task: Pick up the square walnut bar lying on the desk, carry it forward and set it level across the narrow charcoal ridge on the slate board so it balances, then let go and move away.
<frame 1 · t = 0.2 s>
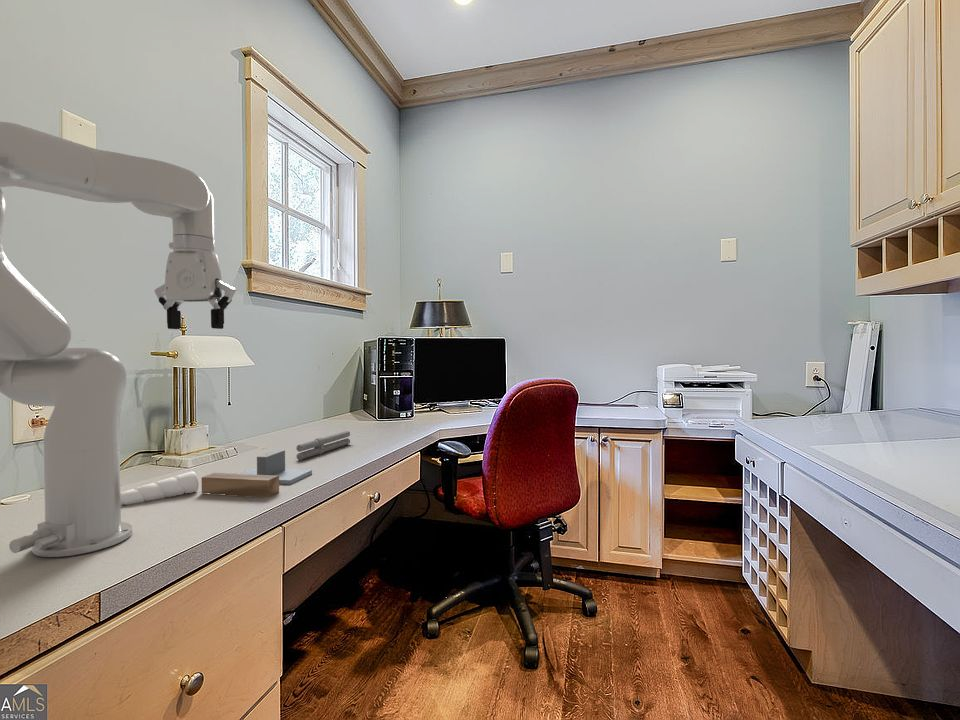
hand: (195, 328, 102), 36 cm above the table, tool pointing down, fingers open, 9 cm apart
metal rod assembly: (325, 453, 150), on the table
walnut bar: (240, 494, 106), on the table
unicorn horn: (137, 504, 100), on the table
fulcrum: (271, 477, 119), on the table
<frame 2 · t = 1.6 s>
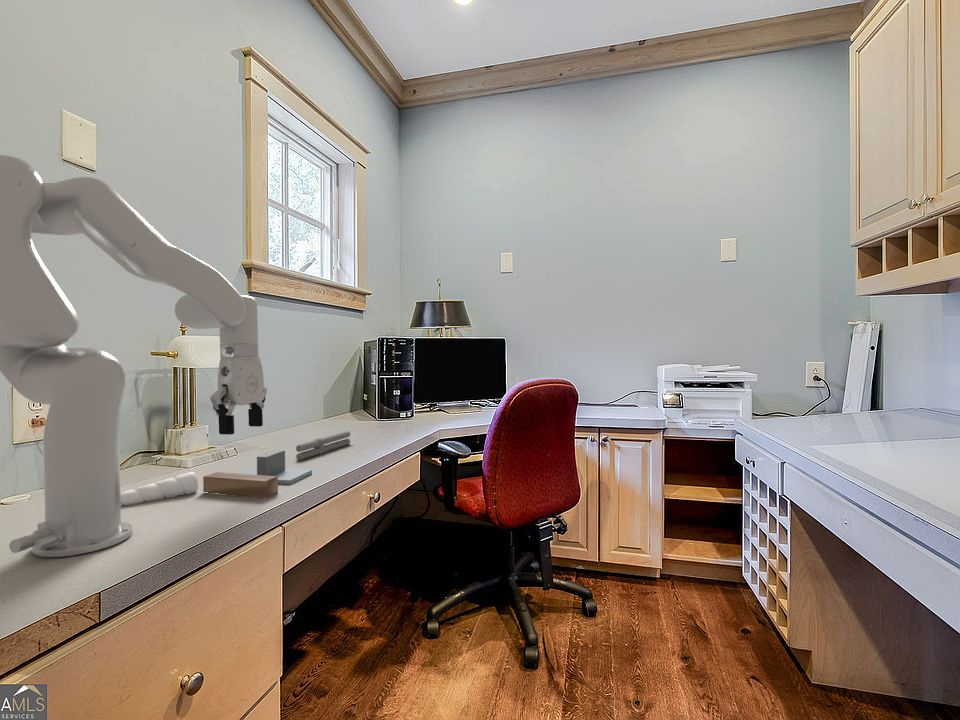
hand: (241, 430, 106), 14 cm above the table, tool pointing down, fingers open, 9 cm apart
nothing on the table moved.
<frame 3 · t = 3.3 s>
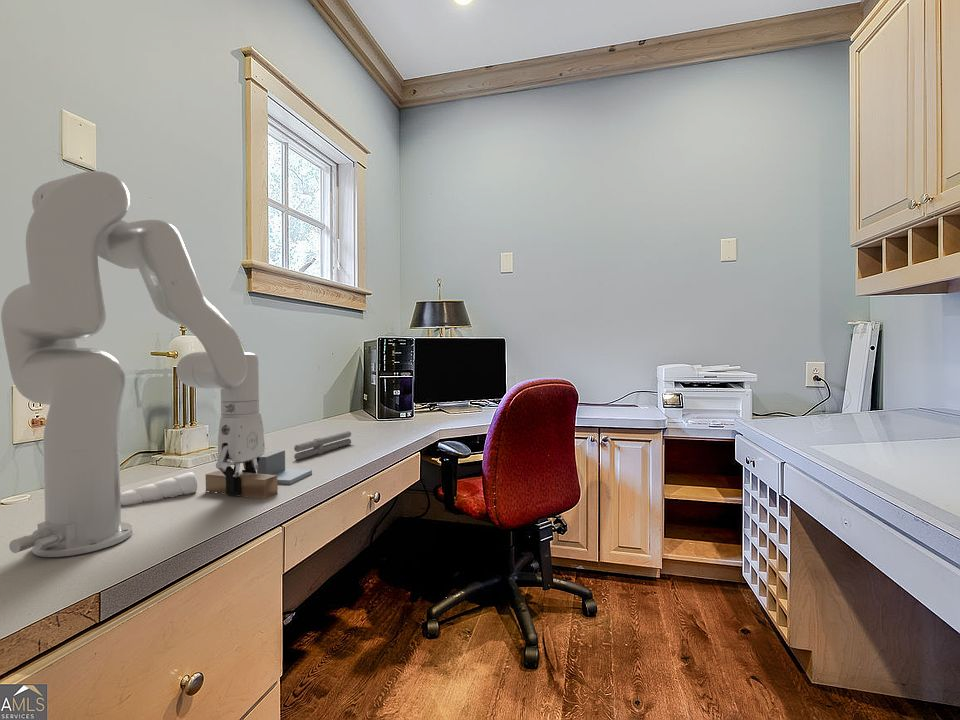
hand: (241, 490, 106), 1 cm above the table, tool pointing down, fingers closed on walnut bar, 4 cm apart
walnut bar: (241, 492, 106), on the table, touching gripper
everything else where it was.
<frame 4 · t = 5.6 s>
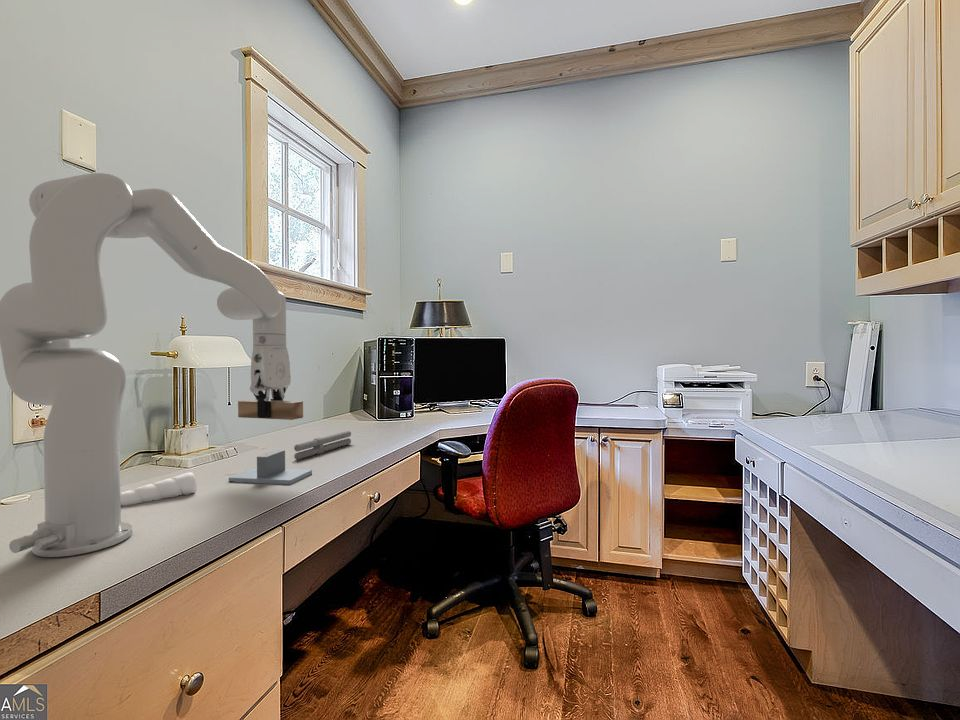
hand: (270, 415, 118), 15 cm above the table, tool pointing down, fingers closed on walnut bar, 4 cm apart
walnut bar: (270, 417, 118), point 15 cm above the table, touching gripper
everything else where it was.
when the fingers open (7 cm above the table, at t = 7.5 s): walnut bar stays where it is, resting on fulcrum.
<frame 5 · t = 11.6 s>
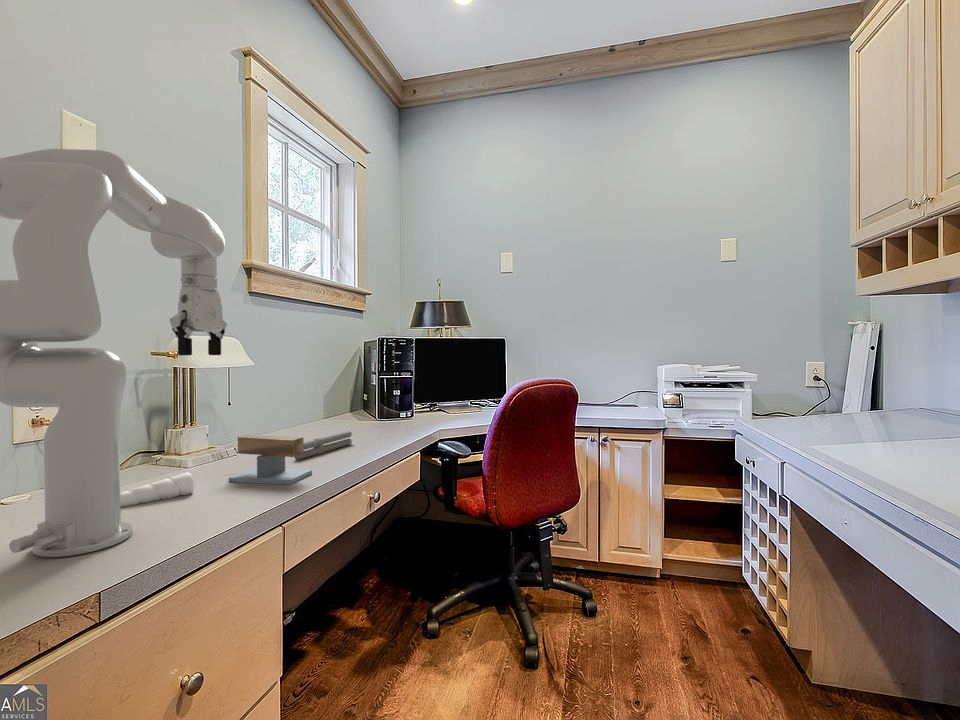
hand: (200, 355, 117), 30 cm above the table, tool pointing down, fingers open, 9 cm apart
walnut bar: (270, 453, 119), point 6 cm above the table, touching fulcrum
at the end: walnut bar 0.1 cm off-centre on the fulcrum, point 6.0 cm above the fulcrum's base; walnut bar tilted 0°; the gripper is holding nothing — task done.
